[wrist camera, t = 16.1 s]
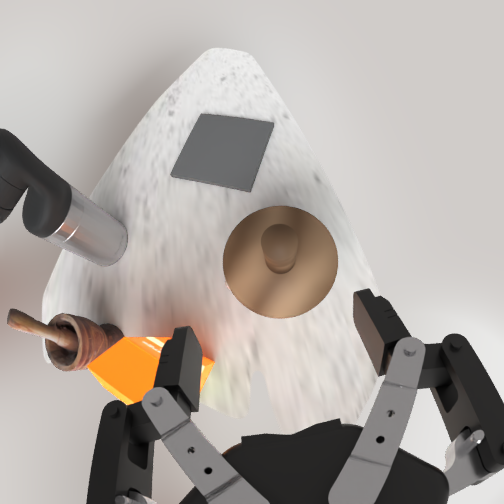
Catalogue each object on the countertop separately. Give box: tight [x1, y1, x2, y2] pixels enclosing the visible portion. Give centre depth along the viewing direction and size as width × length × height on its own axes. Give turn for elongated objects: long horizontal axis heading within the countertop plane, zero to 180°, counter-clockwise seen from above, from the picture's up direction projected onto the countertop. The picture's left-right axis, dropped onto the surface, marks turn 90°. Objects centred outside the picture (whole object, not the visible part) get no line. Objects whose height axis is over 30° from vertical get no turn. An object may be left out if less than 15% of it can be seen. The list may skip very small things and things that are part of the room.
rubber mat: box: [170, 114, 274, 192], centre depth 52 cm, size 16×16×1 cm
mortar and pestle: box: [7, 309, 124, 371], centre depth 35 cm, size 12×9×20 cm
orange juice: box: [87, 337, 215, 405], centre depth 33 cm, size 8×9×20 cm
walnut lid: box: [223, 206, 338, 318], centre depth 31 cm, size 14×14×8 cm
